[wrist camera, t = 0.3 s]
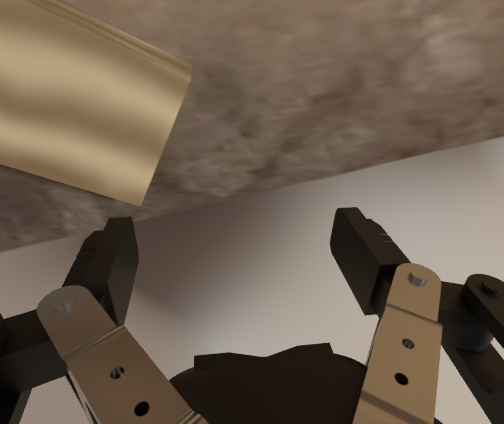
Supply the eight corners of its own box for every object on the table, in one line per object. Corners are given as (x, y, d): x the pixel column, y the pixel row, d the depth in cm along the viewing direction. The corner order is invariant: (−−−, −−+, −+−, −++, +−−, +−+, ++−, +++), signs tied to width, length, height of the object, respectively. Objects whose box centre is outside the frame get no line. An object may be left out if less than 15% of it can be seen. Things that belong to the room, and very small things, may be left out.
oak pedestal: (13, -23, 25) (-14, -19, 21) (192, 65, 30) (191, 78, 27) (-1, 136, 32) (-23, 157, 29) (145, 184, 37) (140, 206, 34)
